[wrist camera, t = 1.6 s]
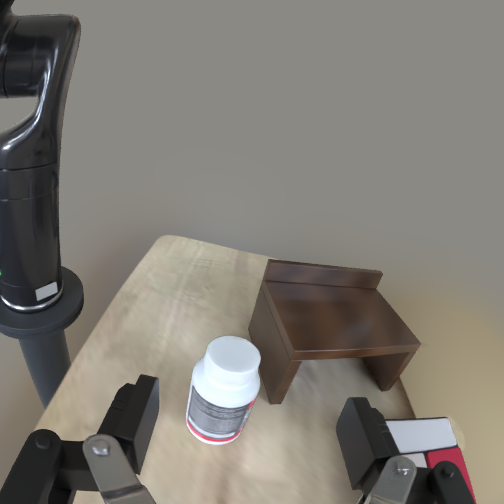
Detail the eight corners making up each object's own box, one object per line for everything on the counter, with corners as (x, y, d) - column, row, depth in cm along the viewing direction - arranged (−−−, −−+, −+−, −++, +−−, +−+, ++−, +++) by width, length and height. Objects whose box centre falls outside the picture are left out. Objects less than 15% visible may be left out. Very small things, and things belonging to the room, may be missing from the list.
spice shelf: (270, 404, 30) (303, 330, 25) (248, 329, 40) (268, 258, 35) (389, 390, 34) (431, 327, 30) (352, 330, 44) (380, 270, 40)
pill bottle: (249, 443, 25) (279, 378, 21) (190, 448, 23) (202, 382, 19) (235, 399, 29) (258, 328, 25) (182, 400, 28) (192, 327, 23)
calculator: (395, 560, 12) (370, 414, 25) (366, 567, 14) (350, 435, 27) (487, 526, 12) (452, 411, 26) (457, 540, 15) (430, 432, 28)
